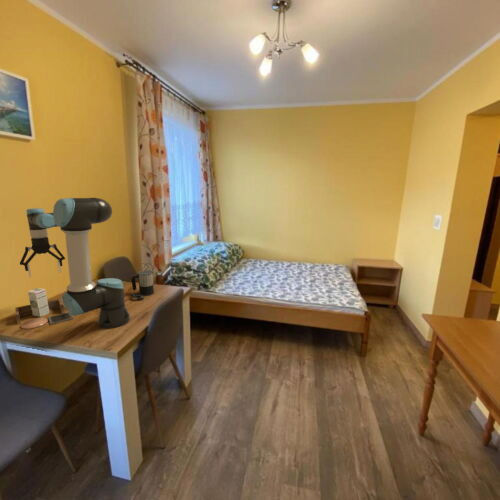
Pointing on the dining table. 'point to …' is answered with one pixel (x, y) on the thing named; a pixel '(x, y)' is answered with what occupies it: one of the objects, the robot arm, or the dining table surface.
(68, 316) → the drain grate
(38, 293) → the syrup box
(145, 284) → the milk frother
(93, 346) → the dining table surface
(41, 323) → the terracotta coaster
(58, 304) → the walnut bay
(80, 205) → the robot arm
